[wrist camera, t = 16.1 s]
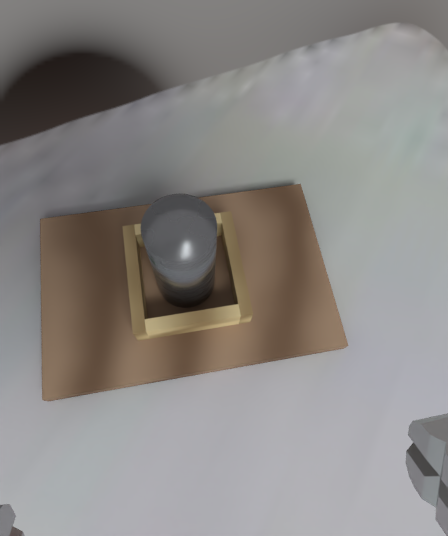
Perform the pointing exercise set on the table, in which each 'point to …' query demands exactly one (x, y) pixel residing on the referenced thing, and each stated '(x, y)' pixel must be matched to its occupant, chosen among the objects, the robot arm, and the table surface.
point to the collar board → (177, 318)
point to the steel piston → (181, 248)
